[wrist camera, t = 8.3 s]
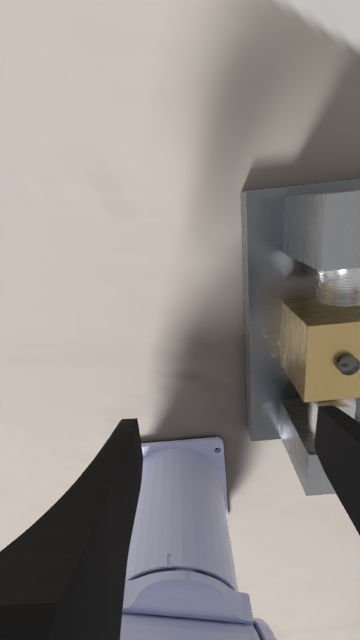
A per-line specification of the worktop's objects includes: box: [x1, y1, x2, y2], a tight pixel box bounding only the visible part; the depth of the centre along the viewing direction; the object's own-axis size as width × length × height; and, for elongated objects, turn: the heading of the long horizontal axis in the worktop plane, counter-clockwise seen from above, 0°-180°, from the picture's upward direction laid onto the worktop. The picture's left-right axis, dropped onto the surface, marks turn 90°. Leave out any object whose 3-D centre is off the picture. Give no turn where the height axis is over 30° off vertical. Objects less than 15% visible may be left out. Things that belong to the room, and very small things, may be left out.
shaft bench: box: [241, 178, 360, 496], centre depth 17 cm, size 17×8×6 cm, turn 6°
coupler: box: [281, 298, 360, 402], centre depth 17 cm, size 4×4×4 cm
